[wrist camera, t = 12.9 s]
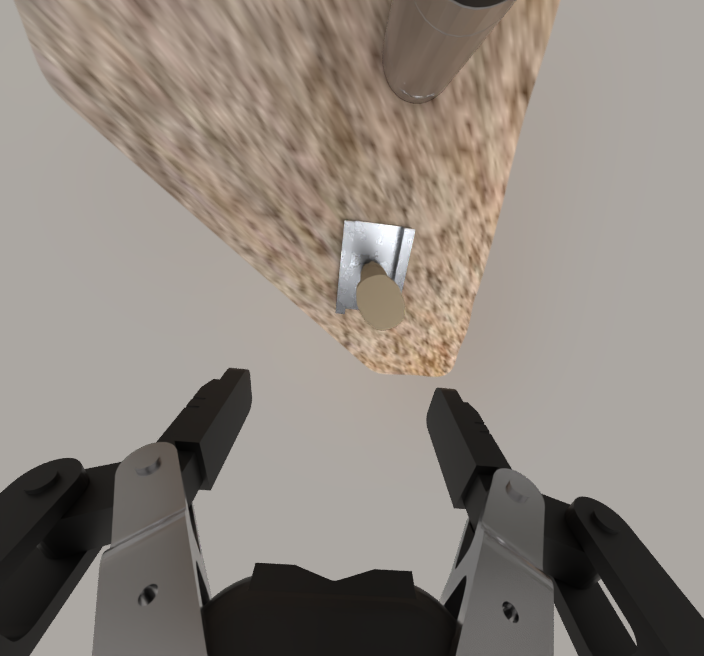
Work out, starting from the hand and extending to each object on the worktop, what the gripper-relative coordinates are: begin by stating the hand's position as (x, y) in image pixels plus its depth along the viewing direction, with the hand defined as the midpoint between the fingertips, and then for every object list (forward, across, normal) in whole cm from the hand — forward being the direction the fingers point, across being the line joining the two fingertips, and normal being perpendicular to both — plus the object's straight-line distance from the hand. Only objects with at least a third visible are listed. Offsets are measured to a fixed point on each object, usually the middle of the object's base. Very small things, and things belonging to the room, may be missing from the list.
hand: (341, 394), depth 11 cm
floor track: (+33, -4, +2) cm, 33 cm away
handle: (+32, -4, +2) cm, 32 cm away
